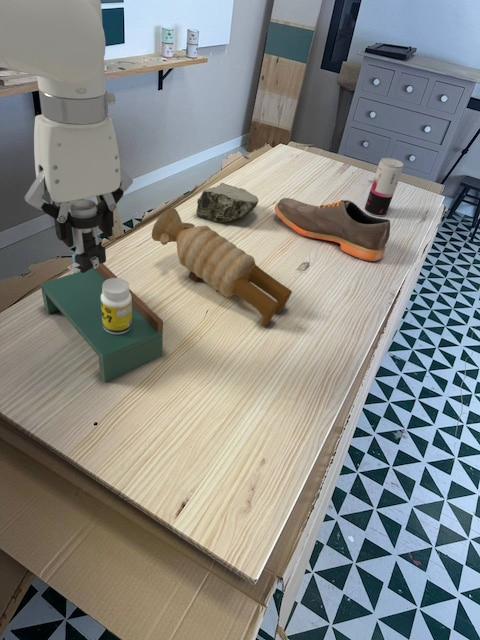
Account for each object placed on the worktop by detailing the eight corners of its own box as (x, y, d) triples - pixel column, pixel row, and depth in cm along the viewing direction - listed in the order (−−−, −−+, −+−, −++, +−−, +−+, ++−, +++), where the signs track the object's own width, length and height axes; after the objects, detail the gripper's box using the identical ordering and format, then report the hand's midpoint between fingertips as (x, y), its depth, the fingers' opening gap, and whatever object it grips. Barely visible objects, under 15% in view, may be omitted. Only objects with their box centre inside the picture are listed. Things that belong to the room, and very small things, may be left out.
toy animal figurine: (279, 319, 99) (173, 243, 106) (301, 277, 91) (184, 198, 97) (255, 343, 92) (143, 260, 99) (276, 301, 84) (152, 213, 91)
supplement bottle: (97, 321, 77) (94, 280, 72) (124, 313, 80) (122, 272, 74) (110, 339, 74) (108, 297, 69) (137, 329, 77) (136, 288, 71)
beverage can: (362, 212, 136) (378, 162, 127) (366, 204, 141) (382, 155, 131) (384, 219, 135) (402, 169, 125) (387, 210, 140) (405, 161, 130)
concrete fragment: (209, 187, 130) (256, 168, 123) (221, 223, 132) (268, 207, 125) (183, 193, 117) (234, 172, 110) (197, 233, 120) (248, 215, 112)
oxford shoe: (283, 208, 131) (291, 169, 124) (389, 249, 121) (404, 209, 114) (265, 222, 124) (272, 182, 116) (376, 267, 114) (391, 225, 106)
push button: (83, 283, 67) (75, 221, 61) (56, 270, 69) (45, 208, 63) (115, 263, 72) (110, 204, 66) (89, 251, 74) (82, 192, 67)
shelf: (105, 382, 75) (102, 346, 70) (45, 309, 87) (38, 274, 81) (162, 355, 81) (163, 321, 76) (99, 290, 93) (96, 257, 88)
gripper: (121, 92, 63) (125, 213, 75) (-12, 102, 53) (16, 240, 65) (152, 109, 59) (151, 234, 71) (13, 124, 49) (38, 266, 61)
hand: (86, 236), depth 68 cm, fingers closed on push button, 5 cm apart
